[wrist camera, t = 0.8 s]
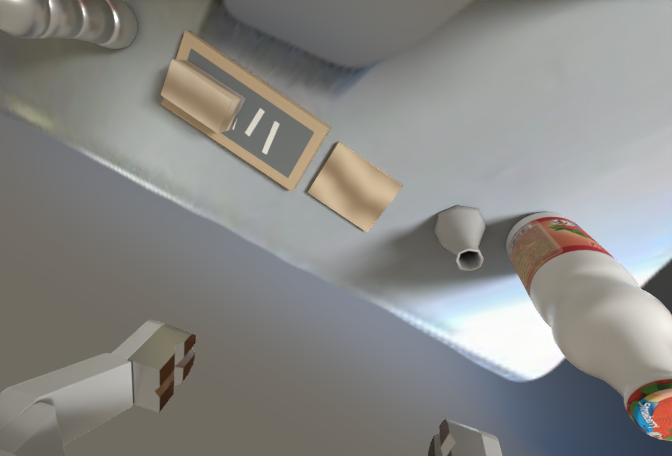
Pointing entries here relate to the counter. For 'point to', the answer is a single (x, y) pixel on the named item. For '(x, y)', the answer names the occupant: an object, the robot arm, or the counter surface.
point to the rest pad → (354, 187)
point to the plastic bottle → (70, 20)
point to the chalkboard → (257, 118)
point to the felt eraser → (202, 95)
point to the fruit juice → (598, 314)
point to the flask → (462, 235)
